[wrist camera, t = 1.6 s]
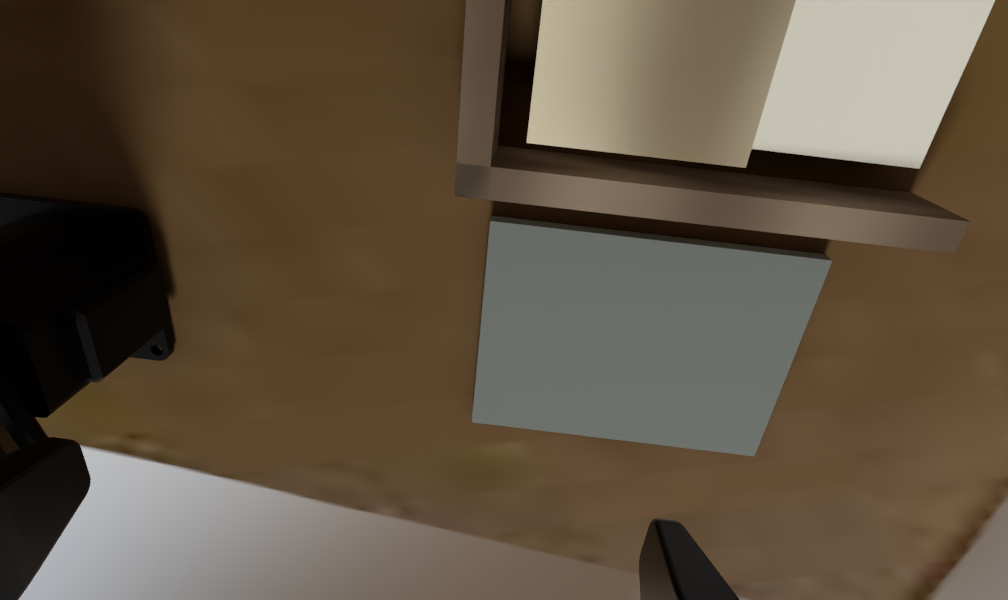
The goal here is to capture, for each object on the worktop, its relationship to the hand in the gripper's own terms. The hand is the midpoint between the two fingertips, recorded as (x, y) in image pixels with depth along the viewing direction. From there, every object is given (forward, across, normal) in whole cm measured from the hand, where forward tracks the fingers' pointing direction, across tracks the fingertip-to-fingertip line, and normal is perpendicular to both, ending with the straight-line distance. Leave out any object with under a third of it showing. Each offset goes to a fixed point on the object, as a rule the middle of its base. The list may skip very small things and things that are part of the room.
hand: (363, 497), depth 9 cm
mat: (+13, -7, +4) cm, 15 cm away
